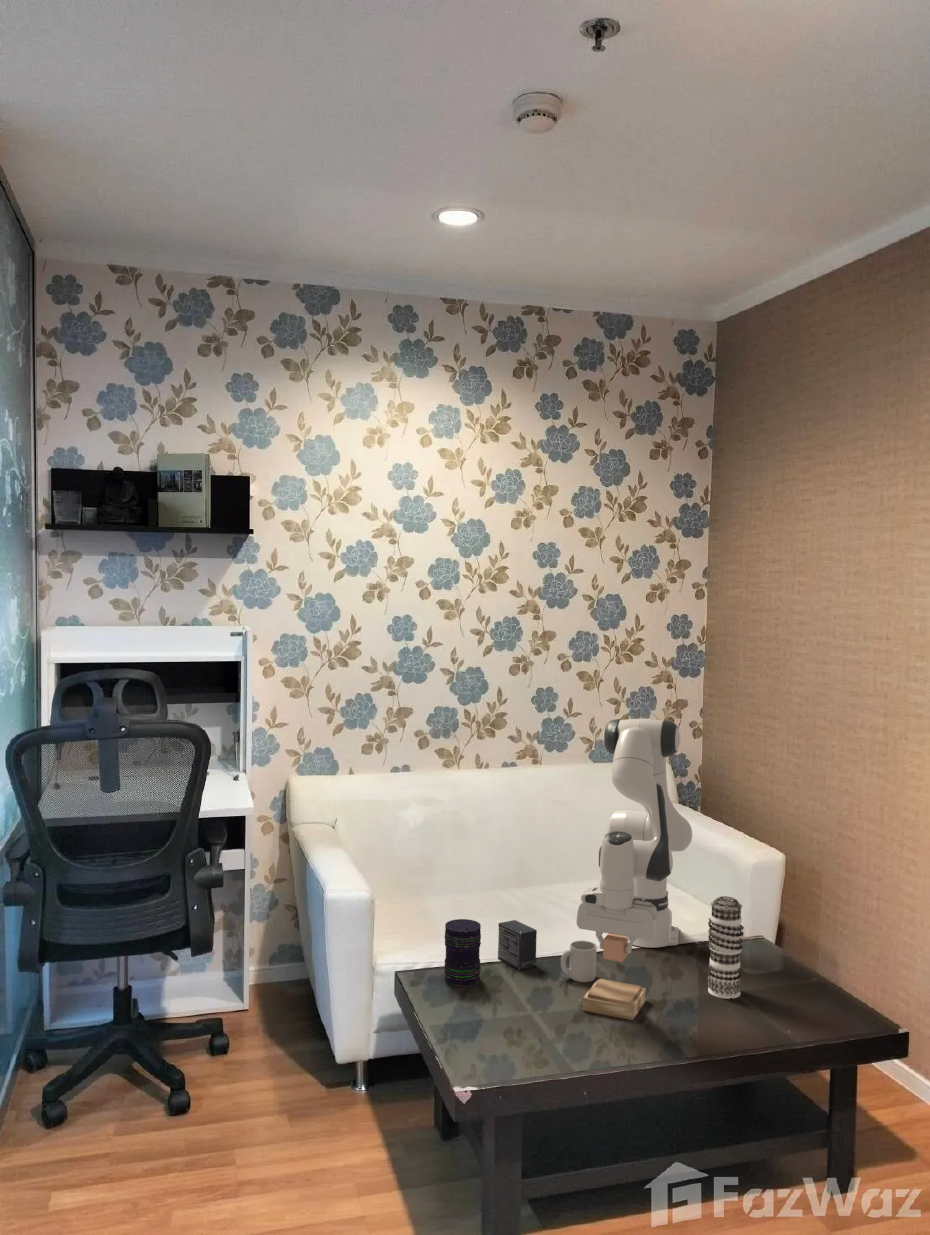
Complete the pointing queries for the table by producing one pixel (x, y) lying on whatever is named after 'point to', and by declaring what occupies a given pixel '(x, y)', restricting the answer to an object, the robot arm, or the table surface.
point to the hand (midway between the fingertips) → (615, 950)
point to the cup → (580, 961)
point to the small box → (517, 944)
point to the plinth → (614, 999)
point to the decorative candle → (725, 948)
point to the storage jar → (462, 952)
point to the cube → (614, 947)
